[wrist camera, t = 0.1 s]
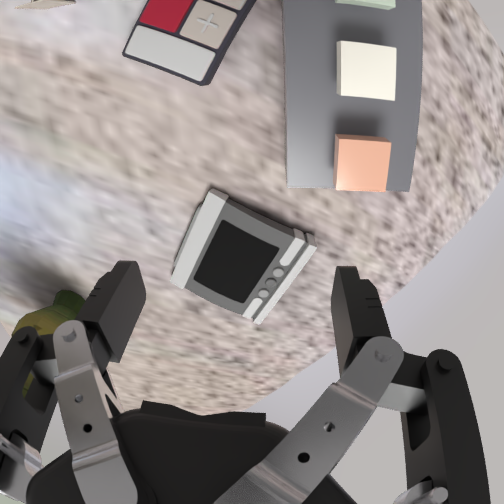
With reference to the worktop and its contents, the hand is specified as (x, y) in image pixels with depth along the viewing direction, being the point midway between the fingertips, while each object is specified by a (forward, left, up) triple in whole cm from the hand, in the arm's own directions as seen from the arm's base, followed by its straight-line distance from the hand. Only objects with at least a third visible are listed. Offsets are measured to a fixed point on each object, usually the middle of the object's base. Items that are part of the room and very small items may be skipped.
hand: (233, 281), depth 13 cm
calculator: (-15, -7, -30) cm, 34 cm away
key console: (-8, +10, -29) cm, 32 cm away
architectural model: (-23, -26, -30) cm, 46 cm away
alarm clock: (+19, -4, -30) cm, 36 cm away
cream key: (-8, +10, -24) cm, 27 cm away
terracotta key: (+1, +10, -24) cm, 26 cm away
